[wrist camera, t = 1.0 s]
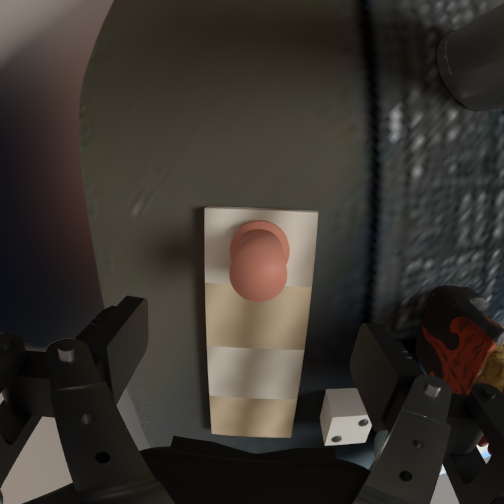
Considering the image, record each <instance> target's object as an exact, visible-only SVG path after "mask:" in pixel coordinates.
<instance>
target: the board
mask: <svg viewBox="0 0 504 504" xmlns="http://www.w3.org/2000/svg"><path fill="white" fill-rule="evenodd" d="M255 220H265V221H269V222H272V223H274V224H275V225H277V226H278V227H279V228H281V229H282V231H283V232H284V233H285V235H286V237H287V240H288V243H289V248H290V254H289V259H288V262H287V264H286V267H287V282H286V285H285V287H284V288H283V290H282V291H281V292H280V293H279V294H278V295H277V296H276V297H274V298H272V299H270V300H268V301H263V302H254V301H250V300H247V299H245V298H243V297H241V296H240V295H239V294H238V293H237V292H236V291H235V290H234V288H233V287H232V285H231V282H230V278H229V271H230V267H231V263H232V261H231V257H230V245H231V241H232V239H233V236H234V234H235V233H236V231H237V230H238V229H239V228H240V227H241V226H243V225H244V224H246V223H248V222H251V221H255ZM317 222H318V212H317V211H312V210H294V209H273V208H248V207H215V206H207V207H205V222H204V235H205V305H206V337H207V361H208V381H209V398H210V414H211V428H212V434H220V435H232V436H249V437H291V433H292V427H293V421H294V416H295V409H296V403H297V397H298V391H299V384H300V377H301V370H302V363H303V356H304V349H305V341H306V333H307V325H308V317H309V308H310V299H311V290H312V280H313V270H314V259H315V247H316V235H317Z"/></svg>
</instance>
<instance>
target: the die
mask: <svg viewBox="0 0 504 504" xmlns="http://www.w3.org/2000/svg"><path fill="white" fill-rule="evenodd" d="M320 422H321V428H322V433H323V439H324V445H325V446H328V445H343V444H355V443H365V442H366V439H367V437H368V434H369V432H370V429H371V427H372V424H371V422H370V419H369V417H368V415H367V412H366V410H365V407H364V405H363V402H362V400H361V397H360V395H359V393H358V390H357V388H346V389H326V392H325V397H324V401H323V406H322V410H321V414H320Z"/></svg>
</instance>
